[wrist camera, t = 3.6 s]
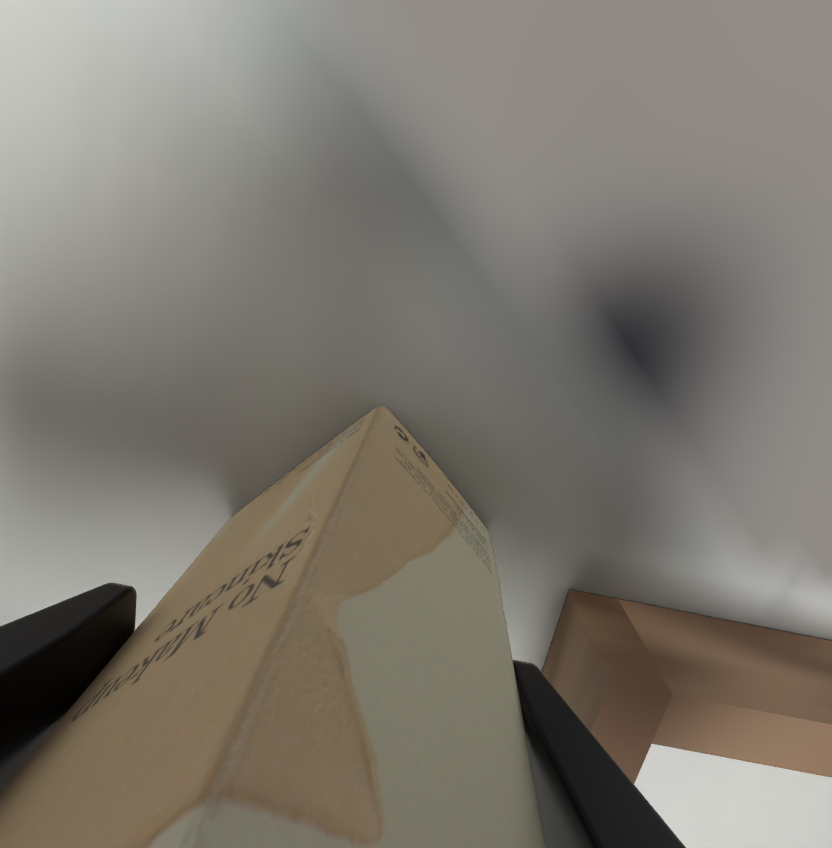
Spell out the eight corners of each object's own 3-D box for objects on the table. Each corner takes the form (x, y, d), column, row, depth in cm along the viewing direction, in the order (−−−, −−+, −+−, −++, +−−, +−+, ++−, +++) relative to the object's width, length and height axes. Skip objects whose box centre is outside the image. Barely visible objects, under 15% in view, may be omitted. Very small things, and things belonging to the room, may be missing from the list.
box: (384, 397, 11) (-297, 2103, 1) (495, 534, 12) (907, 2224, 2) (219, 523, 12) (-1059, 1997, 2) (331, 642, 13) (-75, 2106, 3)
